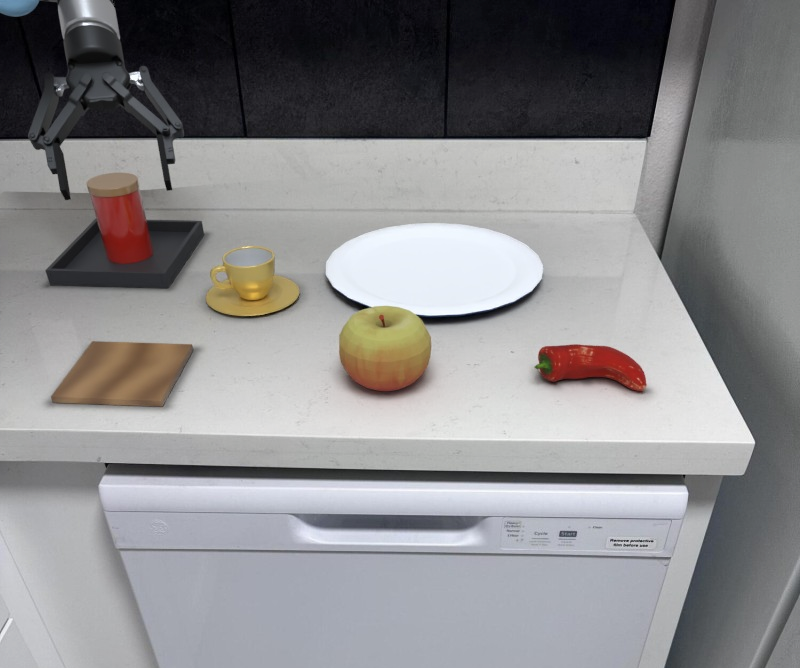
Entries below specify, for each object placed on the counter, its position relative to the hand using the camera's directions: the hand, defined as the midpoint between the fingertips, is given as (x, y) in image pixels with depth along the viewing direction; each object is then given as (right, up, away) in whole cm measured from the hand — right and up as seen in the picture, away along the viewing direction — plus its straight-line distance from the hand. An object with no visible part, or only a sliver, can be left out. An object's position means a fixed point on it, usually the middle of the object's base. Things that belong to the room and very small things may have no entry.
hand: (117, 190), depth 107 cm
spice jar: (+1, -7, +4) cm, 8 cm away
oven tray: (+1, -8, +4) cm, 9 cm away
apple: (+37, -30, -21) cm, 52 cm away
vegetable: (+59, -30, -21) cm, 70 cm away
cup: (+20, -16, -5) cm, 26 cm away
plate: (+43, -12, -1) cm, 45 cm away
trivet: (+8, -29, -20) cm, 36 cm away
